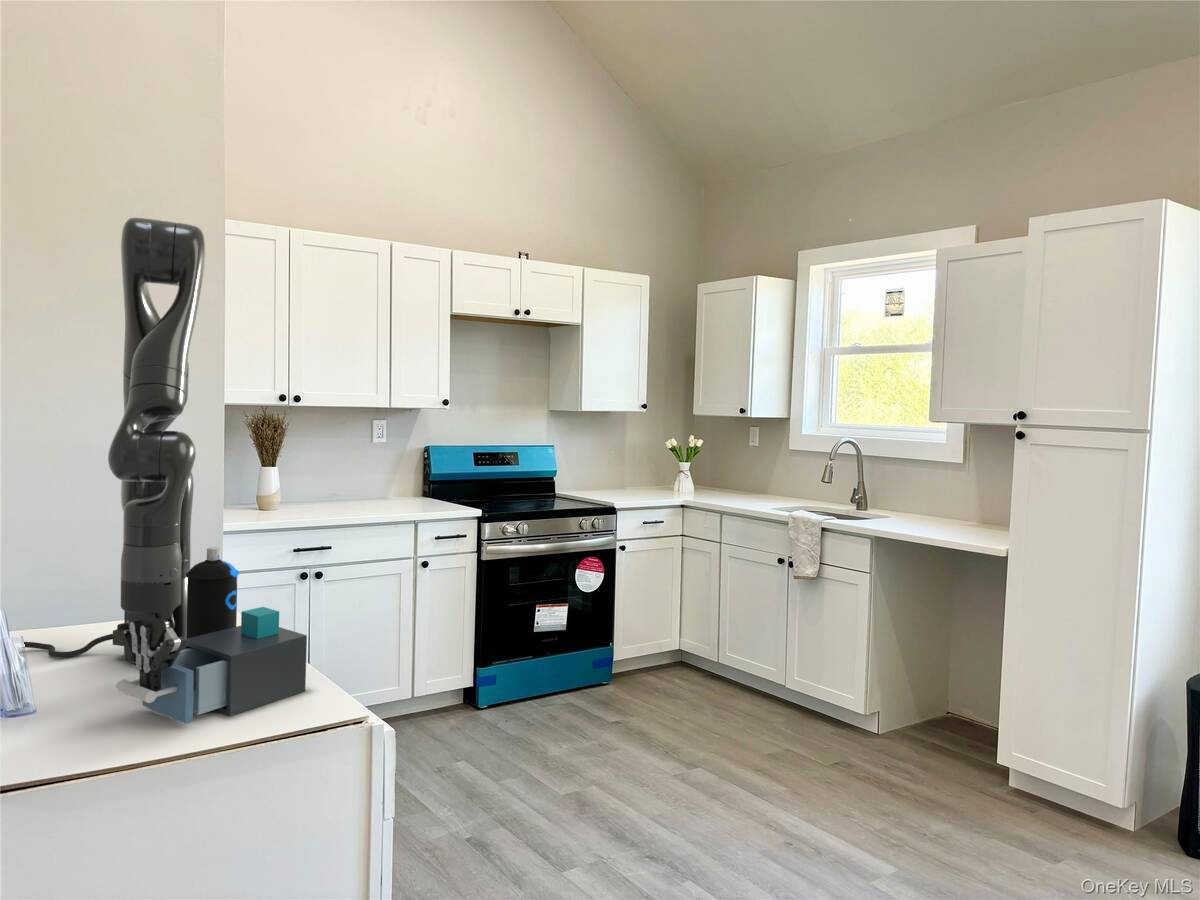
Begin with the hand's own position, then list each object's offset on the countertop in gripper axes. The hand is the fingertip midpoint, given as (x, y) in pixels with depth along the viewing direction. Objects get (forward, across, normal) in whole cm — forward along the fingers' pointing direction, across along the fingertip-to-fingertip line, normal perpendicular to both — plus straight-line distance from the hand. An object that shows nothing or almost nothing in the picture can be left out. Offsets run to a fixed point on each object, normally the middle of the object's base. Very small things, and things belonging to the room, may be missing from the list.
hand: (150, 695), depth 125 cm
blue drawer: (+4, 0, +6) cm, 7 cm away
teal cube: (-5, 0, +18) cm, 19 cm away
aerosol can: (+4, -16, +21) cm, 26 cm away
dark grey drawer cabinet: (+4, 0, +16) cm, 16 cm away
